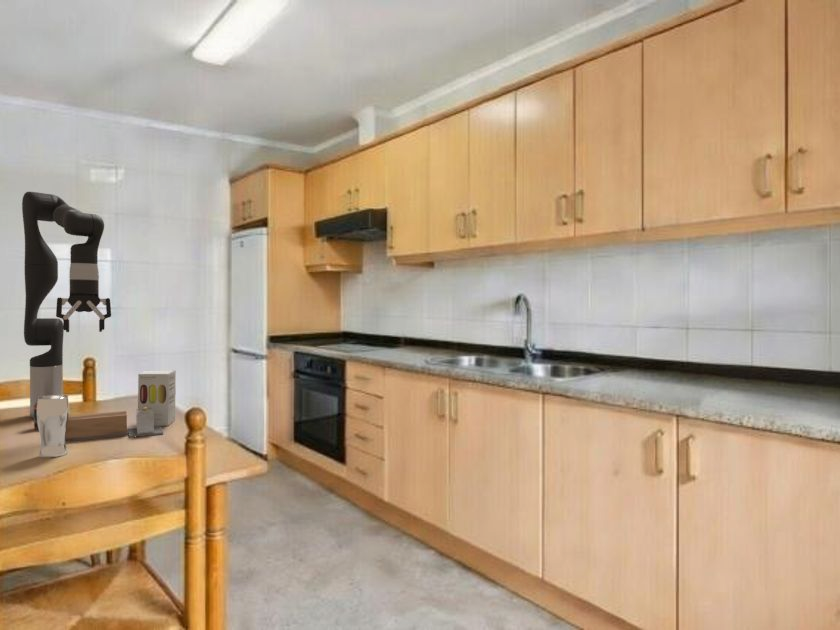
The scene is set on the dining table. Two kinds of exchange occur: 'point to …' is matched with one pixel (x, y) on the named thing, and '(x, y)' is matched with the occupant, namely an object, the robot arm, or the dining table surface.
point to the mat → (133, 433)
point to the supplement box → (158, 394)
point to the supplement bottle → (35, 416)
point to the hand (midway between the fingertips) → (84, 331)
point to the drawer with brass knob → (145, 420)
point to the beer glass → (53, 424)
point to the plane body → (96, 426)
